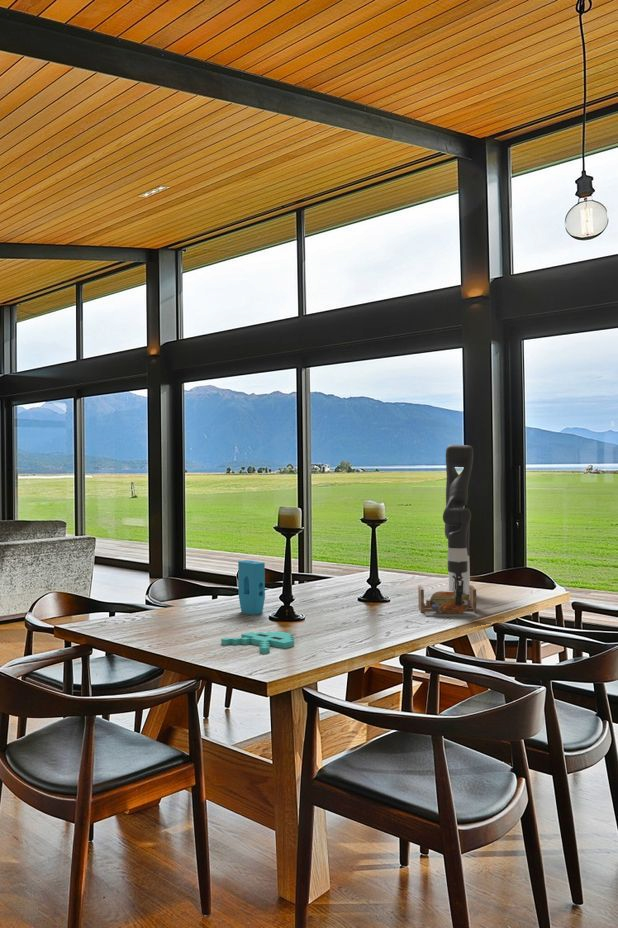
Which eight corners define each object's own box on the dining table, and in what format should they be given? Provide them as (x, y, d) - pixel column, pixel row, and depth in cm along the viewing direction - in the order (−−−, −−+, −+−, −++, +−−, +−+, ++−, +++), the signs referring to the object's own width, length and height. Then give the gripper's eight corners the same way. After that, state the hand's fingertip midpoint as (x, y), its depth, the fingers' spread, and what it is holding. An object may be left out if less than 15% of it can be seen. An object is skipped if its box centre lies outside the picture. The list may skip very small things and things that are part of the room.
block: (237, 611, 310) (237, 561, 310) (247, 609, 313) (247, 560, 313) (255, 615, 301) (255, 563, 301) (266, 613, 304) (265, 562, 304)
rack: (418, 607, 314) (418, 585, 314) (472, 607, 313) (471, 585, 313) (420, 612, 303) (420, 589, 303) (476, 612, 302) (476, 589, 302)
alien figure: (264, 655, 240) (308, 643, 255) (264, 648, 240) (307, 636, 255) (221, 645, 254) (264, 635, 269) (221, 638, 254) (264, 628, 269)
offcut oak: (427, 603, 313) (427, 599, 313) (439, 604, 312) (439, 599, 312) (426, 604, 311) (426, 600, 311) (438, 605, 309) (438, 600, 309)
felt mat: (424, 613, 302) (424, 611, 302) (473, 613, 301) (473, 611, 301) (426, 616, 295) (426, 615, 295) (476, 616, 294) (476, 615, 294)
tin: (430, 613, 298) (430, 591, 298) (429, 611, 301) (429, 590, 301) (470, 613, 297) (469, 591, 297) (468, 611, 300) (468, 590, 300)
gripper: (445, 557, 306) (445, 601, 306) (449, 561, 291) (450, 607, 291) (464, 557, 305) (465, 601, 305) (470, 561, 291) (470, 607, 291)
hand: (457, 604), depth 298 cm, fingers open, 3 cm apart
